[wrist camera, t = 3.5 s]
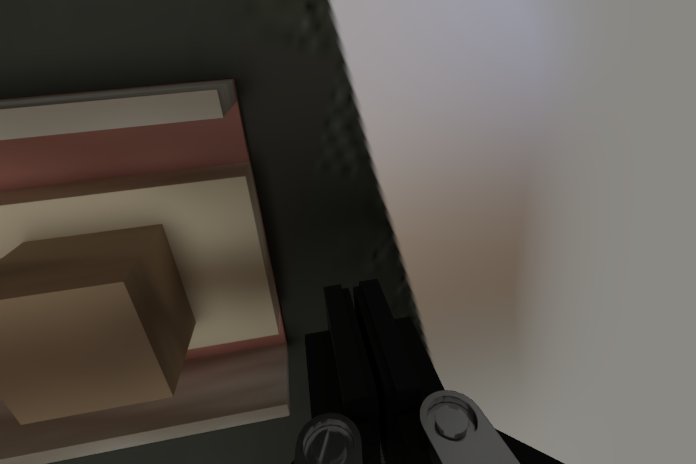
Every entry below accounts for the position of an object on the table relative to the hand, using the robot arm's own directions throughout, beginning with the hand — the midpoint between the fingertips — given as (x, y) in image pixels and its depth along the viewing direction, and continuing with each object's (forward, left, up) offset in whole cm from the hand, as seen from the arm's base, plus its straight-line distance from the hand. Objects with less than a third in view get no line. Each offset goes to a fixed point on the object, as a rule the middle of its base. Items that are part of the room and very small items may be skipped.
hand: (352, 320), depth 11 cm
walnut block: (-1, +9, -5) cm, 10 cm away
